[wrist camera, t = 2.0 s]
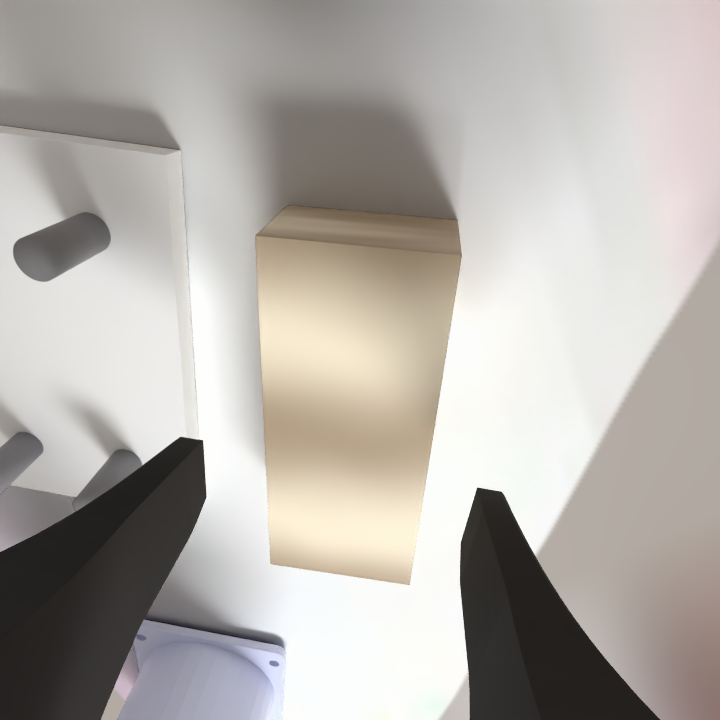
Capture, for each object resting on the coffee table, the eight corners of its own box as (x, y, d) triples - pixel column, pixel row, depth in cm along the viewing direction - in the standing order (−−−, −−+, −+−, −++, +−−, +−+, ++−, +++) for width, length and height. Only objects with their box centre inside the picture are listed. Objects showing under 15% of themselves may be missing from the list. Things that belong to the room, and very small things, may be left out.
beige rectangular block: (413, 511, 21) (409, 585, 18) (294, 494, 22) (270, 564, 19) (457, 217, 15) (461, 255, 12) (290, 202, 16) (255, 235, 13)
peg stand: (202, 500, 22) (165, 569, 19) (1, 464, 23) (-66, 526, 20) (180, 150, 15) (115, 172, 12) (-111, 109, 16) (-243, 121, 13)
